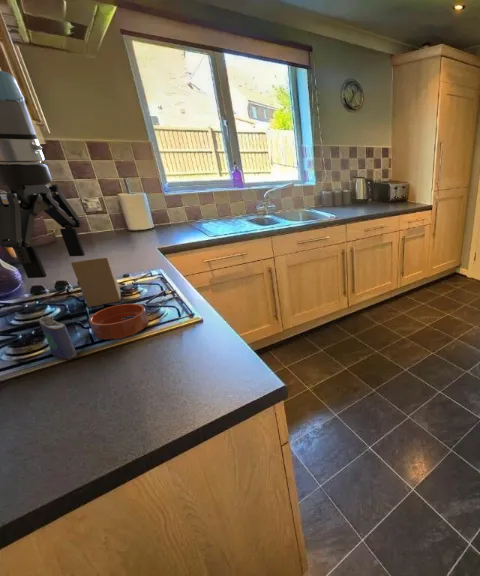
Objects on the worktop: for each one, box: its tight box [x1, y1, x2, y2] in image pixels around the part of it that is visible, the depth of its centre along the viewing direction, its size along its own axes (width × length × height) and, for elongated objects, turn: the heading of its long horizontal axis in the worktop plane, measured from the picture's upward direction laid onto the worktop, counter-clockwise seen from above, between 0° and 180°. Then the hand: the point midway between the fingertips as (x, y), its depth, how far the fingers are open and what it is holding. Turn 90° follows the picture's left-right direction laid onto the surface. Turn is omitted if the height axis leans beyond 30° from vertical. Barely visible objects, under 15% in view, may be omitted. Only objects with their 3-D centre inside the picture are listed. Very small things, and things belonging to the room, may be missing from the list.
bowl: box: [88, 303, 150, 341], centre depth 91 cm, size 12×12×5 cm
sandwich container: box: [70, 257, 121, 308], centre depth 107 cm, size 9×15×15 cm, turn 37°
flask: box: [38, 314, 78, 361], centre depth 79 cm, size 9×3×11 cm, turn 63°
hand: (59, 265), depth 72 cm, fingers open, 13 cm apart
